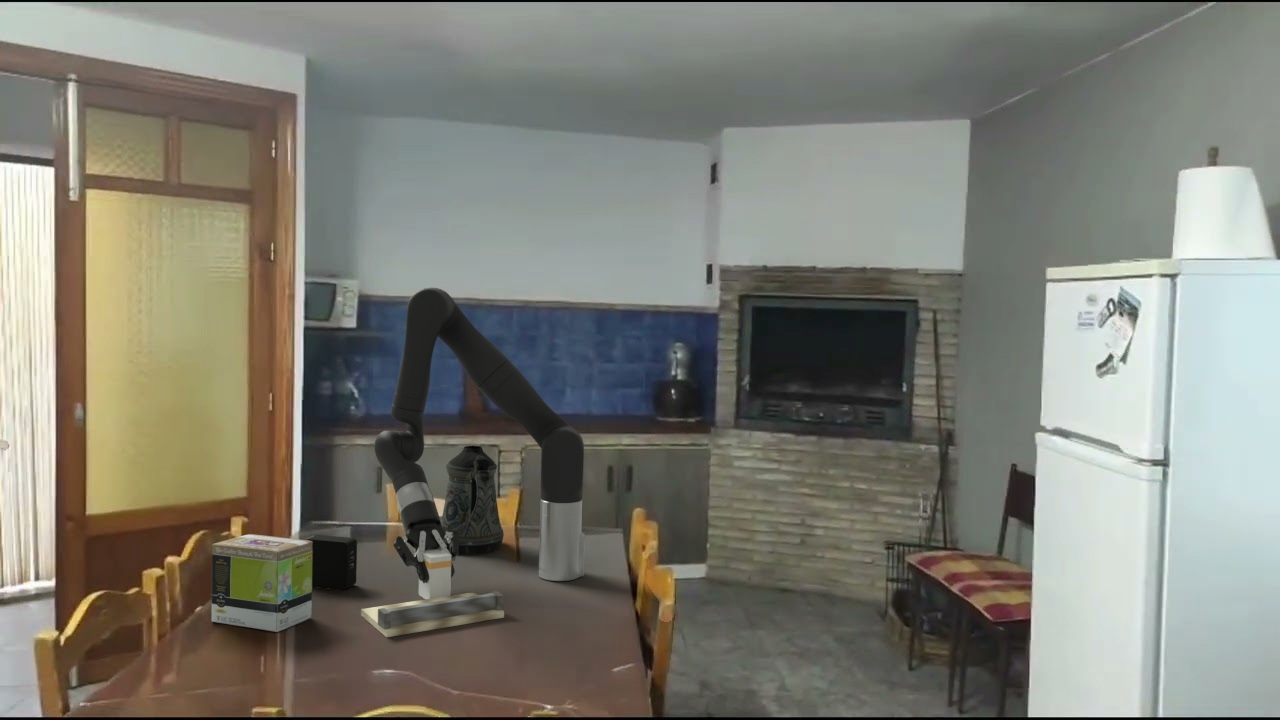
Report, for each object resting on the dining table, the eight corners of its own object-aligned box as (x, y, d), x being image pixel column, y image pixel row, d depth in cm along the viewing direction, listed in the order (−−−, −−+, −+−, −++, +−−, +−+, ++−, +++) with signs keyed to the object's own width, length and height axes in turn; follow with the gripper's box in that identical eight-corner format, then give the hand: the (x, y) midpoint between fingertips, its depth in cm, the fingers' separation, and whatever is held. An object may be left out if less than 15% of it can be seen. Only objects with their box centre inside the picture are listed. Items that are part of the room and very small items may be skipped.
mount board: (474, 597, 191) (474, 578, 191) (504, 617, 179) (505, 596, 179) (359, 615, 177) (360, 594, 177) (385, 637, 166) (385, 615, 166)
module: (438, 591, 195) (439, 548, 194) (450, 599, 189) (451, 555, 189) (417, 594, 192) (418, 550, 192) (429, 602, 187) (430, 557, 186)
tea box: (313, 617, 175) (314, 539, 175) (276, 634, 166) (277, 551, 165) (248, 607, 180) (249, 531, 180) (208, 622, 171) (209, 542, 170)
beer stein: (470, 535, 244) (473, 440, 243) (525, 548, 233) (528, 448, 232) (421, 547, 231) (423, 446, 230) (477, 561, 219) (480, 454, 218)
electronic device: (346, 590, 193) (347, 542, 192) (302, 586, 195) (303, 538, 194) (356, 585, 197) (357, 538, 197) (313, 581, 199) (314, 534, 199)
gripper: (389, 501, 192) (409, 574, 182) (454, 495, 200) (477, 565, 191) (380, 522, 197) (399, 594, 187) (444, 515, 205) (465, 584, 195)
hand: (438, 579), depth 189 cm, fingers closed on module, 4 cm apart
